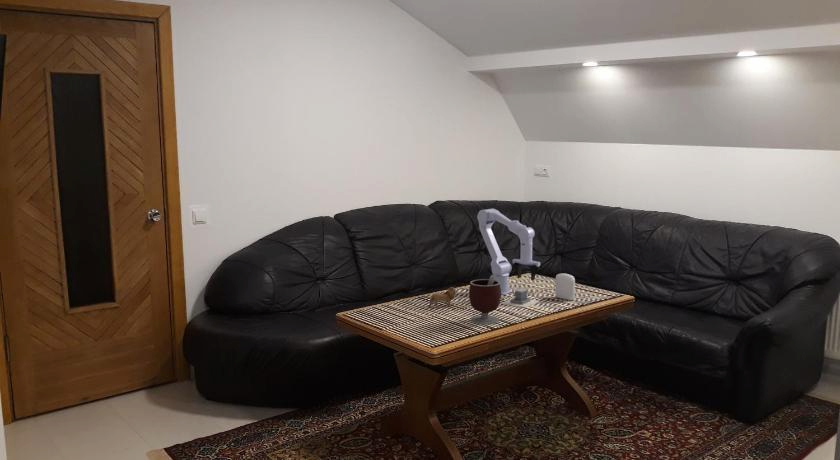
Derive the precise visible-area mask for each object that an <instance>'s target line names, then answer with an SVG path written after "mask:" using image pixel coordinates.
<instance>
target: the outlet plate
mask: <svg viewBox="0 0 840 460" xmlns="http://www.w3.org/2000/svg"><path fill="white" fill-rule="evenodd" d="M538 303H540V300H536V299H532V298H531V297H527V299H526V300H523V301H518V300H515V297H513V298H511V299H508V300H506V301H503V302H500V305H501V304H502V305H505V306H506V305H507V306H510V307H511V306H512V307H517V308H523V309H524V308H525V309H526V308H529V307H531V306H533V305H536V304H538Z"/></svg>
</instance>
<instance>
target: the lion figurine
mask: <svg viewBox="0 0 840 460" xmlns="http://www.w3.org/2000/svg"><path fill="white" fill-rule="evenodd" d="M456 294H457V290H456V287H453V286H451V287H449V288H448V289H447V290H446V291H445V292H444V293H433V294H432V295H431V296H430V301H429V305H428V306H427V308H433V305H432V304H433V303H434V306H435V307H436V309H440V306H438V302H439V301H440V302H445V306H446V307H448V308H452V305H451V301H453V300H455V297H456Z"/></svg>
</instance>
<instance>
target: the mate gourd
mask: <svg viewBox="0 0 840 460" xmlns="http://www.w3.org/2000/svg"><path fill="white" fill-rule="evenodd" d="M492 275H493V276H492V277H491V276H490V277H491V278H490V277H489V279H486V278H483V279H474V280H471V281H470V282H469V283H470V284H469V289H468V298H469V303H470V306H471V307H472V308H473V310H475V311H477V312H479V313H481V314H480V315H476V316H473V317H471V318H470V321H471V323H473V324H477V325H483V326H484V325H486V326H487V325H488V326H489V325H495V324H498V323H499V322H500V318H499V317H497V316H493V315H489V313H491V312H494V311H496V310H497V308H498V307H499V306H500V305H501V298H502V294H501V287H500V282H499V281H496V280H494V279H495V277H496V275H497V273H495V274H492Z"/></svg>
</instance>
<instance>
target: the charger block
mask: <svg viewBox="0 0 840 460" xmlns="http://www.w3.org/2000/svg"><path fill="white" fill-rule="evenodd" d="M514 298H515V300H518V301H523V300H526V299H527V298H528V289H526V288H518V289H517V288H516V289H515V290H514Z"/></svg>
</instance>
